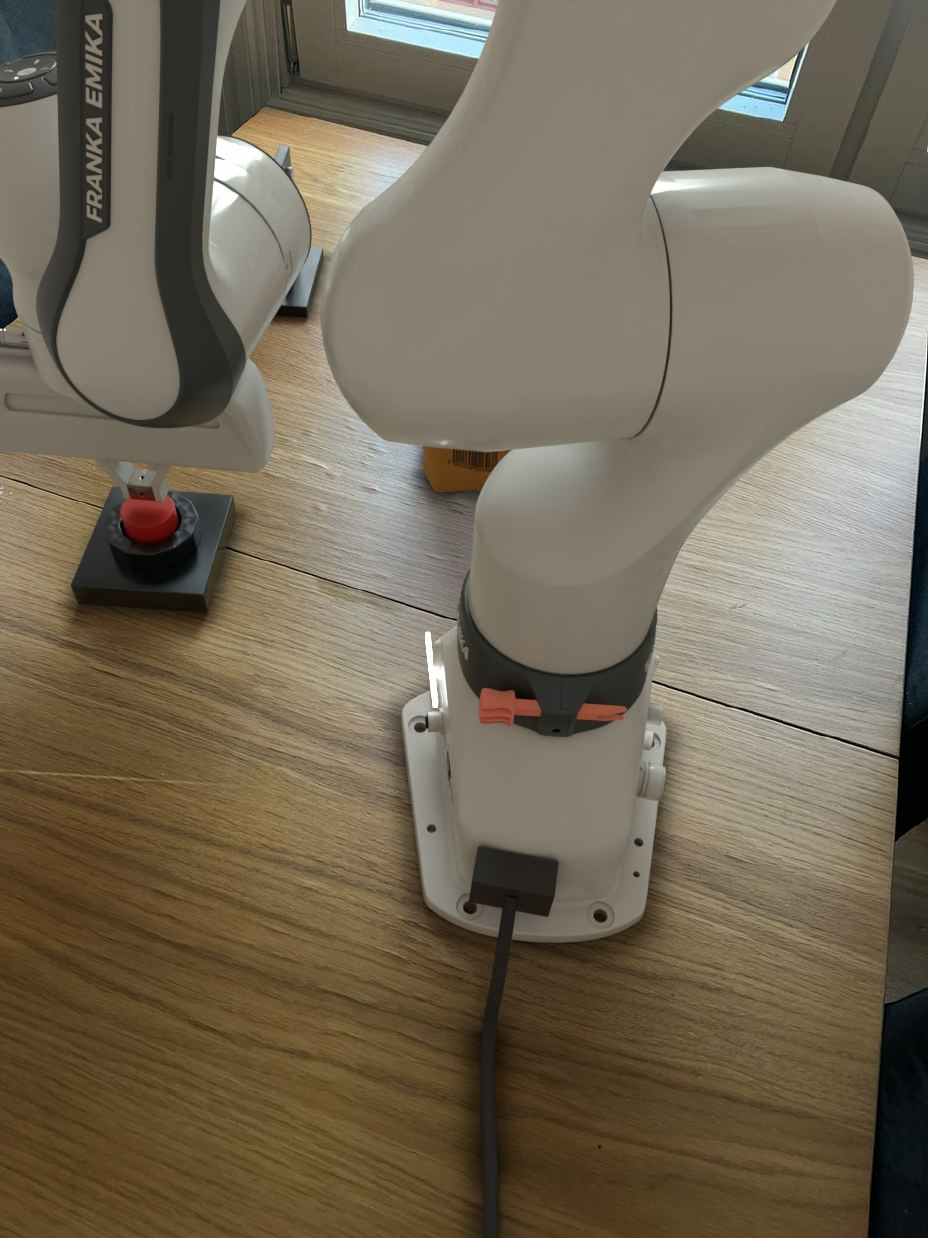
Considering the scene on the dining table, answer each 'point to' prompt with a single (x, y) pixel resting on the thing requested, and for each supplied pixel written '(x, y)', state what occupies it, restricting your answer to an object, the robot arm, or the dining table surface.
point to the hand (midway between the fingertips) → (147, 494)
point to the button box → (157, 557)
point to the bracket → (306, 281)
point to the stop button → (149, 519)
